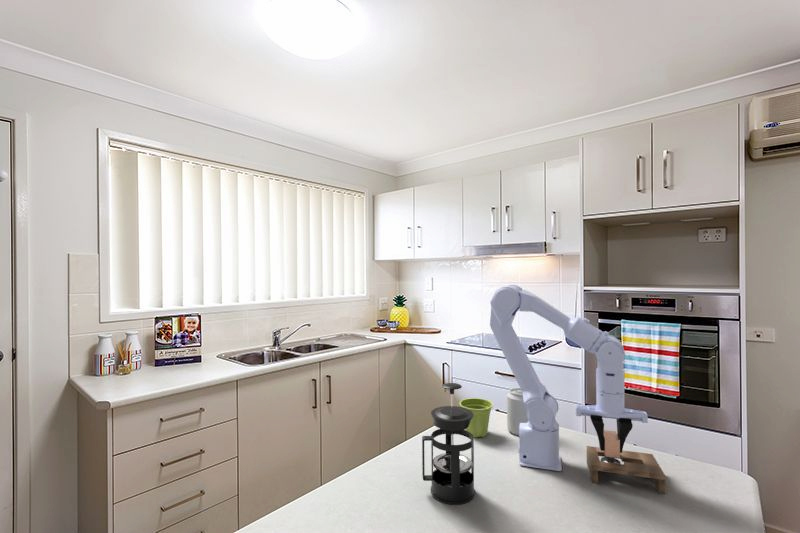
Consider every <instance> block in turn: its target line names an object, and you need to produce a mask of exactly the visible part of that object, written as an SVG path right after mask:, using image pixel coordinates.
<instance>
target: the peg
mask: <svg viewBox="0 0 800 533" xmlns="http://www.w3.org/2000/svg"><path fill="white" fill-rule="evenodd" d="M603 452H604V455H605V456H607V457H602V456H601V459H600V461H602V462H609V463H617V464H622V463H621V461H620V459H618V458H620V439H619V437H618V435H617V430H616V431H613V430H606V429H604V451H603Z"/></svg>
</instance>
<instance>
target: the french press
mask: <svg viewBox="0 0 800 533" xmlns="http://www.w3.org/2000/svg"><path fill="white" fill-rule="evenodd" d="M441 387H442V388H443V389H446V390H449V394H450V404H451V405H445V406H439V407H436V408H433V409H432V410H431V411H430V416H431V417H432V418H433V420H432V422H433V423H432V424H433V426H434V427H436V428H438V429H436V430H434V431H432V433H431V435H423V436H421V437H422V438H421V455H422V456H421V460H422V461H421V464H422V465H421V466H422V467H421V471H422V474H421V475H422V480H423V481H425V482H429V481H430V482H431V485H430V486H431V487H430V494H431V496H432V497H433V498H434V500H436V501H437V502H440V503H442V504H446V505H453V506H454V505H455V506H458V505H459V506H460V505H464V504H467V503H469V502H471V501H472V500H474V498H475V495H476V491H475V472H474V471H475V468H474V467H475V462H474V460H475V456H474V455H475V454H474V453H475V451H474V450H475V449H474V448H475V447H474V446H475V444H474V438H475V437H473V435H472V434H471V433H470V432H468V431H466V430H465V429H467V428H468V426H469V424H470V421H471V419H472V418H473V412H472V411H470V410H468V409H466V408H463V407H461V406H457V405H456V406H455V405H453V404H454V403H453V402H454V394H455V390H460V389H461V388H463V386H462V385H461V384H459V383H456V382H455V383H454V382H446V383H443V384H442V386H441ZM441 435H445V443H442V442H439V441H437V440H436V439H435V438H437V437H438V436H441ZM454 435H459V436H464V437H466V438H468V439H470V441H468V442H466V443H462V444H454ZM425 441H426V442H427V441H431V442H430V443H431V444H430V446H431V447H430V448H431V450H430V452H431V462H430V463H431V474H430V475H429V474H426V473H425ZM434 448H436V449H438V450H442V451H443V452H444V451H445V453H441V454H439V455H435V456H434ZM470 449H471V450H470ZM467 450H470V451H471V452H470V455H471V456H470V457H471V458H469V457H468V456H466V455H463V454H461V452H465V451H467ZM434 468H435V470H434ZM446 483H451V486H445V485H442V484H446ZM461 485H462V486H461Z"/></svg>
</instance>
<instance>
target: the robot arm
mask: <svg viewBox="0 0 800 533" xmlns="http://www.w3.org/2000/svg"><path fill="white" fill-rule="evenodd" d="M489 303H490V319H489V320H490V321H489V326H490V330H491V331H492V333H493V336H494V337H495V339H496V341H497V343H498V345H499V347H500V350H501V352H502V354H503V356H504V358H505V359H506V362H507V364H508V366H509V368H510V369H511V371H512V374H513V375H514V378H515V380H516V382H517V384H518V386H519V388H521V390H522V393H523V400H524V404H525V406H526V409H527V418H528V423H520V428H519V436H518V438H519V439H518V440H519V444H518V445H517V446H518V449H517V450H518V451H517V453H518V454H519V455H518V456H519V466H522V467H530V468H535V469H542V470H550V471H554V472H555V471H556V472H562V471H563V469H562V460H561V455H560V425H559V423H558V422H557V420H556V416H557V413H558V411H559V402H558V401H557V399H556V398H555V397H554V395H552V394H550V392H549V391H548V389H547V388H546V386H545V385H544V384H543V383H542V382H541V381H540V378H539V376H538V375H537V372H536V371H535V368H534V367H533V364H532V363H531V360H530V358H529V356H528V355H527V353H526V351H525V349H524V347H523V344H522V343H521V341H520V339H519V336H518V335H517V333H516V331H515V329H514V327H513V322H514V319H515V317H516V314H517V312H518V311H519V312H529V313H530V312H531V313H532V312H533V313H535V314H536V315H538V316H540V317H542V319H545V320H547V321H548V322H550V323H552V324H553V325H555V326H556V327H558V328H560V329H562V330H563V333H564V337H565V338H566V339H568V340H570V341H571V342H573V343H574V344H575V345H577V346H579V347H581V349H583V350H585V351H587V352H588V353H590V354H594V355H595V357H596V359H597V368H596V369H595V371H596V372H595V379H596V384H595V385H596V387H595V389H596V390H595V391H596V392H595V393H596V394H595V395H596V396H595V398H596V399H595V400H596V404H595V405H592V404H590V405H589V404H588V405H581V404H579V405H578V404H577V405H576V404H575V415H576V417H582V416H584V417H590V421H591V423H592V425H593V427H594V430H595V432H596V434H597V439H598V444H599V446H598V447H599V448H600V450H602V451H604V430H605V423H604V418H605V419H613V420H614V419H615V420H616V433H617V435H618V437H619V439H620V453H622V450H623V448H624V445H625V442H626V439H627V437H628V436H629V434H630V432H631V431H632V429H633V425H634V424H633V421H634V422H641V423H642V424H644V423H645V424H648V421H649V420H648V419H649V417H648V413H647V412H646V411H643V410H636V409H631V408H625V406H626V405H625V371H624V368H625V365H624V362H625V359H626V353H625V349H624V345H623V343H622V342H621V341H620V340H619V339H618V338H617V336H614V335H611V334H610V332H608V331H606V330H605V331H602V330H601V329H599V328H597V327H596V326H594V325H593V324H591V323H590V321H591V320H589V319H587V318H586V317H584V319H583V318H582V317H580V316H578V317H572V318H571V317H569V316H568V315H566V314H564V313H563V312H562V311H561V310H559V309H558V308H555V306H553V305H551V304H550V303H548V302H547V301H545V300H544V299H542V298H541V297H539V296H538V295H536V294H535V293H532V292H531V291H529V290H526V289H523V288H522V287H520V286H519V285H516V284H511V285H507V286H502V287H500V288H498V289H496V291H495V292H494V294H493V296H492V298H491V300H490V302H489ZM623 451H624V450H623Z"/></svg>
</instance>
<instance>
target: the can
mask: <svg viewBox="0 0 800 533" xmlns="http://www.w3.org/2000/svg"><path fill="white" fill-rule="evenodd" d="M508 391H509V392H508V393H507V394H506V428H507V430H508V431H509V432H510V433H511V434H512V435H515V436H518V437H519V428H520V423H528V418H527V409H526V406H525V404H524V400H523V393H522V390H521V388H520V387H513V388H510V389H509V390H508Z"/></svg>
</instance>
